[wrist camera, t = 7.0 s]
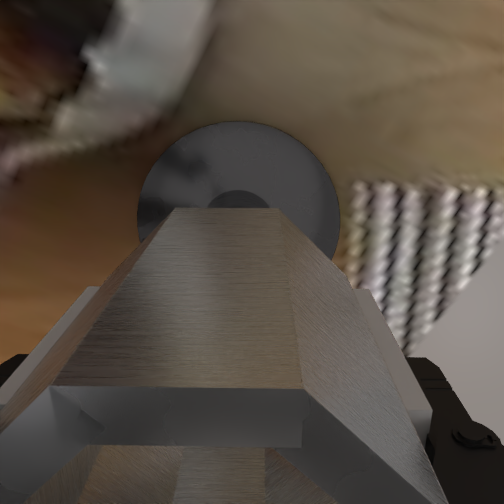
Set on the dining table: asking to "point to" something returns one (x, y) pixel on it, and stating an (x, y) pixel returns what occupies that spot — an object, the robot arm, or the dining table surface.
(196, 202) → the duct stub
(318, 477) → the sleeve
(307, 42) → the dining table surface
